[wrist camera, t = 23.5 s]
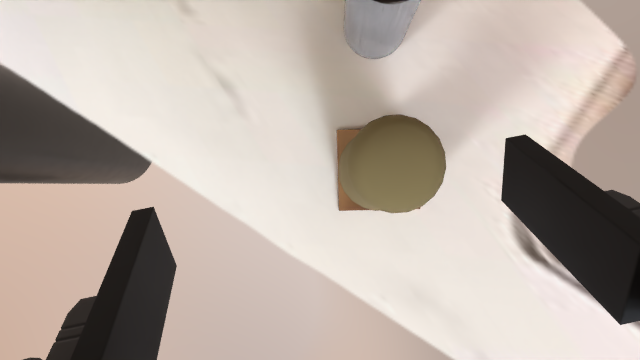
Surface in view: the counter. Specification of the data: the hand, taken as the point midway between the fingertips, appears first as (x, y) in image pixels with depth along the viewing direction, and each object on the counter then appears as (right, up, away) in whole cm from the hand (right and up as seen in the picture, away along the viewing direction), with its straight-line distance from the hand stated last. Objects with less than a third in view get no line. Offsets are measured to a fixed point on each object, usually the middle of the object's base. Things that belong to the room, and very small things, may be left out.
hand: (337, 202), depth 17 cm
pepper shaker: (+4, +2, +17) cm, 17 cm away
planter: (+3, +12, +17) cm, 21 cm away
